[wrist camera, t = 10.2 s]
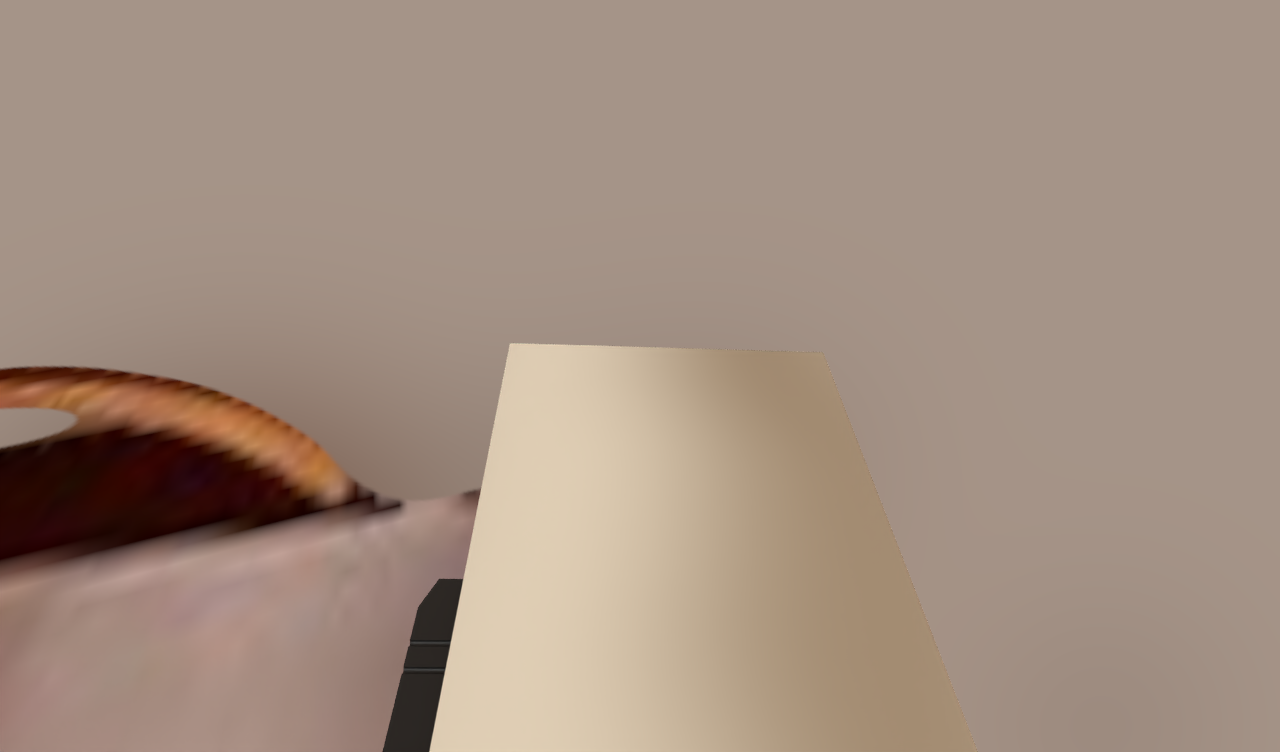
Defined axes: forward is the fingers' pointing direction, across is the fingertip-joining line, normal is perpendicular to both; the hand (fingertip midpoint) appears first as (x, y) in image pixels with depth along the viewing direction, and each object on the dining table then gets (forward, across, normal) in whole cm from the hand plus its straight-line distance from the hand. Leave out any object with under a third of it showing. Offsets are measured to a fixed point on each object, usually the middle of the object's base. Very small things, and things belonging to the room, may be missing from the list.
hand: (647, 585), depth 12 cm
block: (-3, 0, +7) cm, 7 cm away
